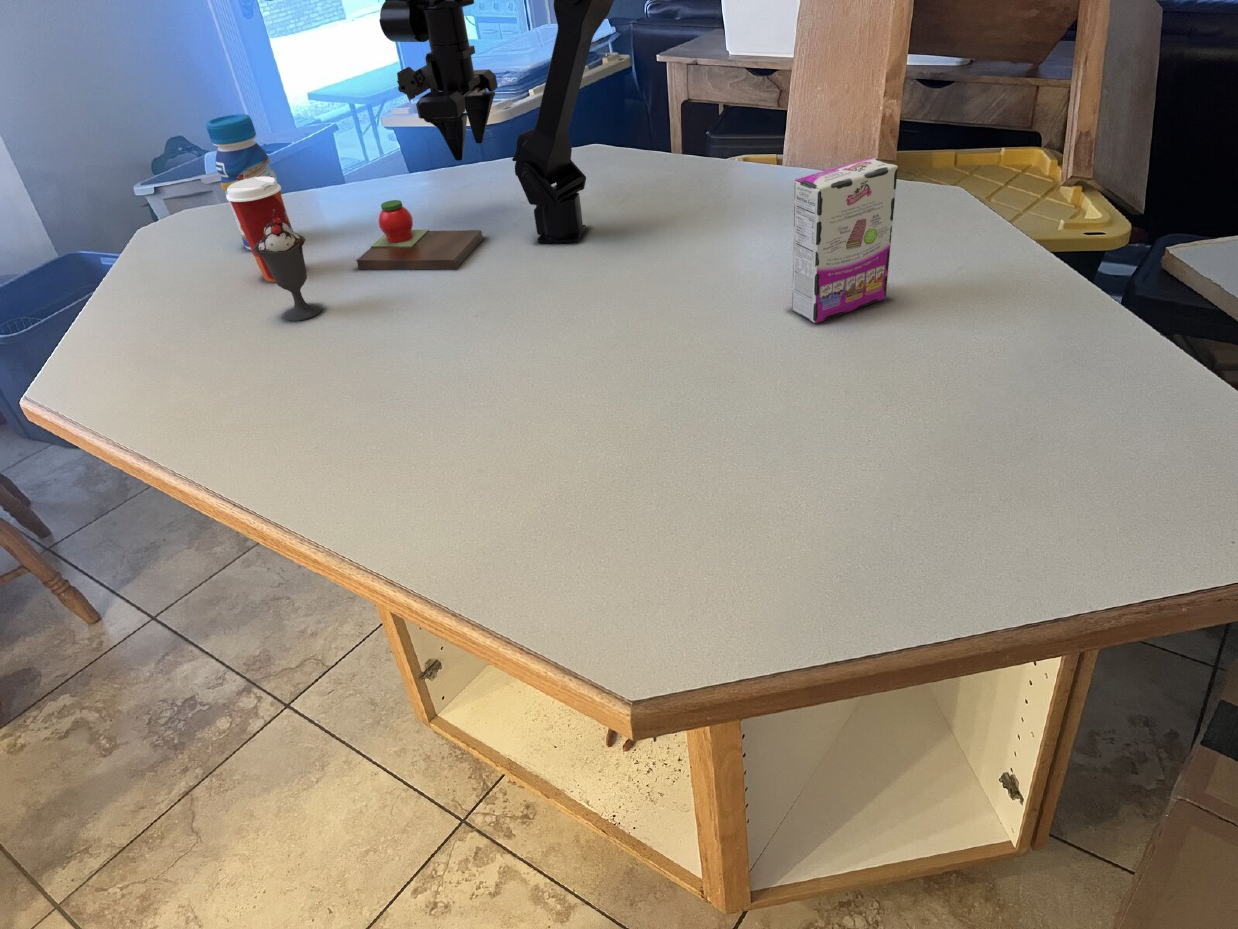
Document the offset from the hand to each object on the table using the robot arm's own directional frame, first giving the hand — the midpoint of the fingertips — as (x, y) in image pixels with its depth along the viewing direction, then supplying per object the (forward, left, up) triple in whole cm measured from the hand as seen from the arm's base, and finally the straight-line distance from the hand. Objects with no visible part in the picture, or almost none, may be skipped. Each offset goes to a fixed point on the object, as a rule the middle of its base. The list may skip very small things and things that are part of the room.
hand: (469, 151), depth 130 cm
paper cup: (+26, +20, -12) cm, 35 cm away
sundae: (+15, +33, -12) cm, 38 cm away
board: (+6, +12, -12) cm, 18 cm away
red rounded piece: (+10, +10, -10) cm, 18 cm away
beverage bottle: (+36, +7, -12) cm, 39 cm away
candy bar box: (-57, +29, -12) cm, 65 cm away
